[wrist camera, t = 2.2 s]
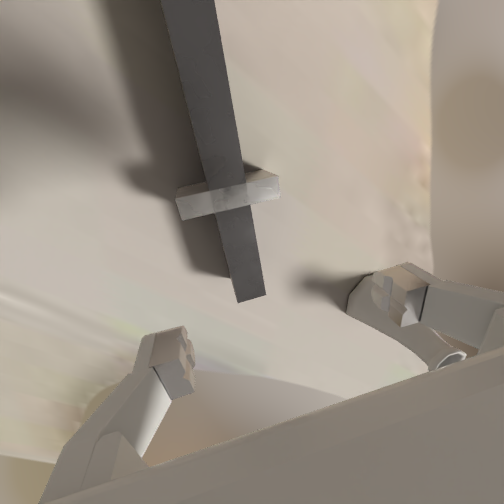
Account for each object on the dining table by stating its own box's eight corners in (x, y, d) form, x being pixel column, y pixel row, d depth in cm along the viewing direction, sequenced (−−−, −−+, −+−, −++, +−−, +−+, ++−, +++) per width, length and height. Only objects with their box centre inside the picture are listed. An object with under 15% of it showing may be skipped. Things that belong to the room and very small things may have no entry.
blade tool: (203, 285, 23) (205, 312, 19) (2, -326, 9) (-119, -624, 5) (280, 264, 24) (296, 286, 20) (205, -314, 10) (213, -558, 7)
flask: (380, 320, 31) (453, 391, 22) (335, 317, 29) (398, 394, 20) (407, 274, 29) (502, 334, 20) (361, 267, 26) (445, 330, 18)
